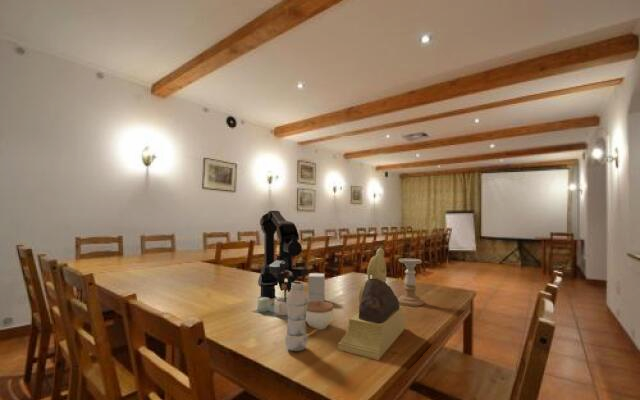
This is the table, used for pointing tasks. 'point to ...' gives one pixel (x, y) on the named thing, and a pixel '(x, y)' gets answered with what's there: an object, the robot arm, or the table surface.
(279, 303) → the octagonal white frame
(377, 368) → the table surface
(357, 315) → the statue with dark rock
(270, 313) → the slate tray
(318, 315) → the lidded jar
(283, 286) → the coffee tamper
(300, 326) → the plastic bottle
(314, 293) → the supplement box
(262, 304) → the sage green dome
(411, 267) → the candle holder
